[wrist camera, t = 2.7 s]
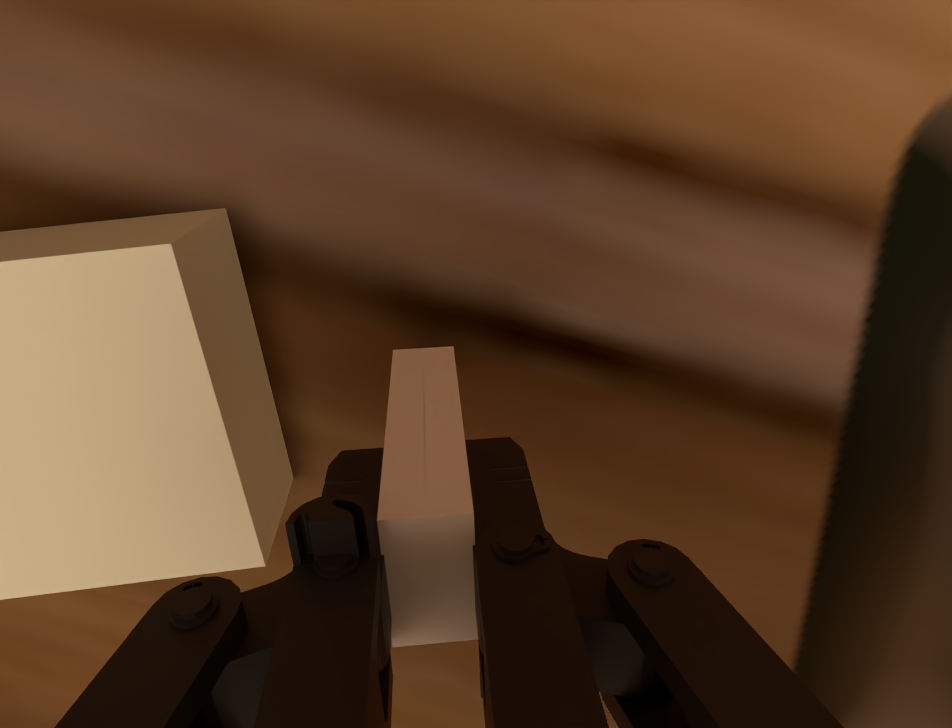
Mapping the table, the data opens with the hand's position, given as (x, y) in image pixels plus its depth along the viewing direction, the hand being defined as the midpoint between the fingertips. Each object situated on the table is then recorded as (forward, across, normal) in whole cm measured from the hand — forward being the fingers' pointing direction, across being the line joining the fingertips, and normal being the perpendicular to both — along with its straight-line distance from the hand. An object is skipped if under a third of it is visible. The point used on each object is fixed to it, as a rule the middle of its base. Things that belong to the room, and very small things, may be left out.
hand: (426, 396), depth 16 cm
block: (+4, +9, 0) cm, 10 cm away
